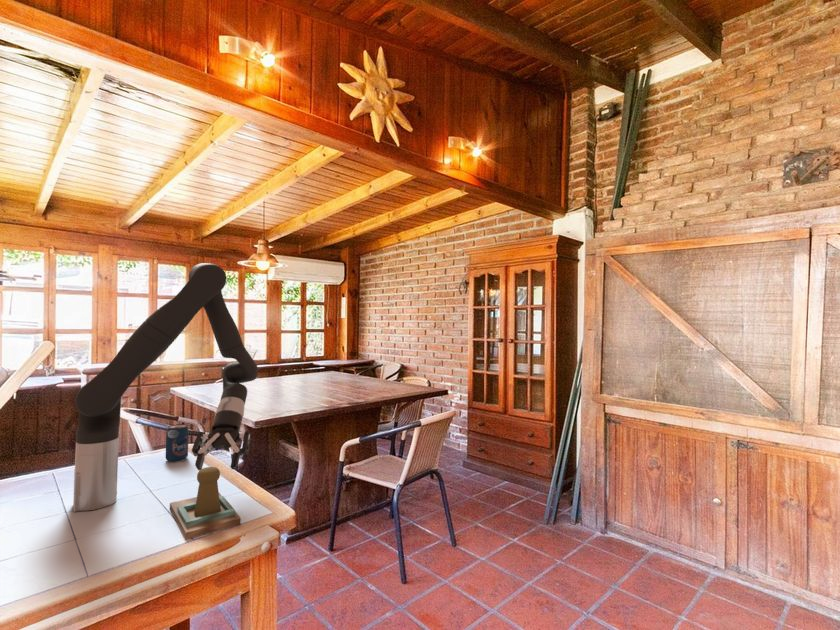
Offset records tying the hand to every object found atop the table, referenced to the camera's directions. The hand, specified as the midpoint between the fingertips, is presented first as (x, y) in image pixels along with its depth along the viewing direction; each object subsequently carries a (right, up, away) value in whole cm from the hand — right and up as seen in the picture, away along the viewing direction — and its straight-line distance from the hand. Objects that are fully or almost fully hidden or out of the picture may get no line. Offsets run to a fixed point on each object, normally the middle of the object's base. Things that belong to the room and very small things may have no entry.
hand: (215, 468), depth 114 cm
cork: (+1, -9, -7) cm, 11 cm away
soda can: (-32, -10, +37) cm, 50 cm away
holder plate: (0, -10, -6) cm, 12 cm away
